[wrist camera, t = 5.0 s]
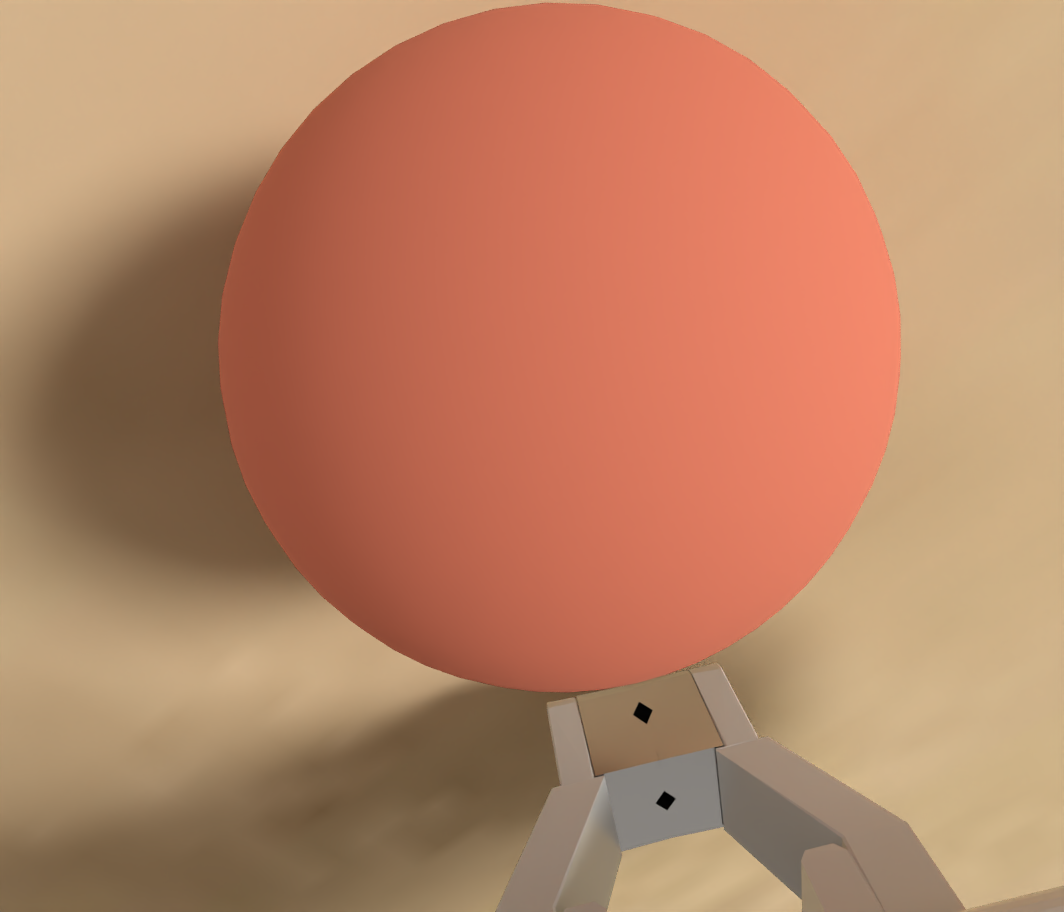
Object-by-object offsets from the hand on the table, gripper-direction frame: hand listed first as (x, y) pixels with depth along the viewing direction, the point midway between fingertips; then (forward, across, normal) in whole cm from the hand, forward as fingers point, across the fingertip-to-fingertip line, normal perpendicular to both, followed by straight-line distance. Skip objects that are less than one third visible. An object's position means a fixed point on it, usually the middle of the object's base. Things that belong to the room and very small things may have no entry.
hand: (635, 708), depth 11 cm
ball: (-2, 0, -7) cm, 7 cm away
